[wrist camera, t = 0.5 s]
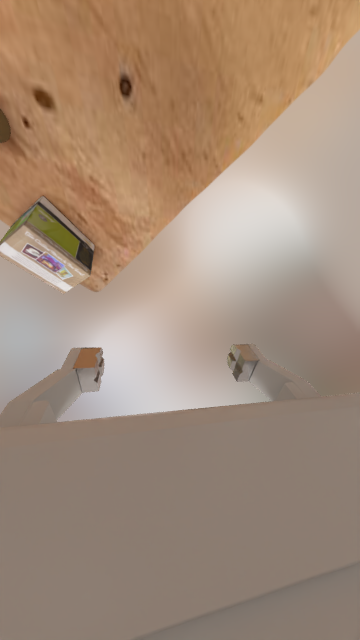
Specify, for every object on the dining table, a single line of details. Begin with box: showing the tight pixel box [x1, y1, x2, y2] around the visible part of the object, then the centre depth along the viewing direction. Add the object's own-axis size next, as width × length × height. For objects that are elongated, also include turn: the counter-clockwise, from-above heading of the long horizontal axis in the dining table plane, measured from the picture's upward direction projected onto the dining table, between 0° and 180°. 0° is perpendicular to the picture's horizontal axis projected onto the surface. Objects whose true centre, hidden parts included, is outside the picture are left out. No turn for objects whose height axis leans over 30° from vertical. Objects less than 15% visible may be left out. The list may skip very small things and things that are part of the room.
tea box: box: [0, 196, 95, 294], centre depth 44 cm, size 15×10×15 cm, turn 28°
